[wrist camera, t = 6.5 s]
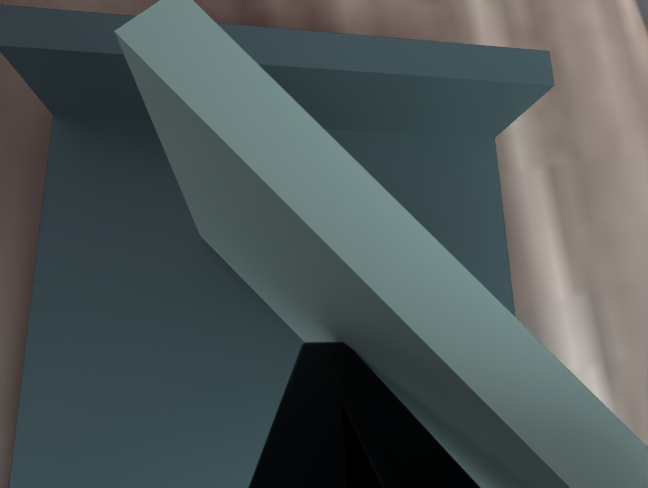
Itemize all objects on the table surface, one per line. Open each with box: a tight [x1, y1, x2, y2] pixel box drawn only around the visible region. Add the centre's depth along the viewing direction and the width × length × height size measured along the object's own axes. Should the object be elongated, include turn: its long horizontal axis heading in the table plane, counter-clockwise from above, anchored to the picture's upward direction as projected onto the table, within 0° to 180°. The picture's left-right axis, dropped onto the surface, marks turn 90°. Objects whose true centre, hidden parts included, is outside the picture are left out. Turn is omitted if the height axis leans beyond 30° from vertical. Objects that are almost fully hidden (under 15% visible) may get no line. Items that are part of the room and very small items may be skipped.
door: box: [114, 0, 648, 488], centre depth 8 cm, size 1×11×8 cm, turn 46°
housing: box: [0, 5, 554, 488], centre depth 12 cm, size 13×13×4 cm
